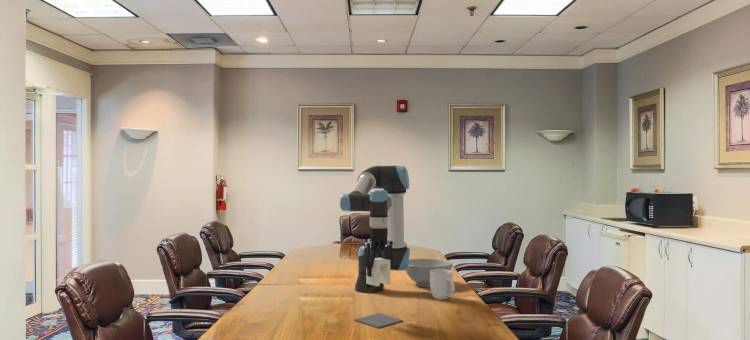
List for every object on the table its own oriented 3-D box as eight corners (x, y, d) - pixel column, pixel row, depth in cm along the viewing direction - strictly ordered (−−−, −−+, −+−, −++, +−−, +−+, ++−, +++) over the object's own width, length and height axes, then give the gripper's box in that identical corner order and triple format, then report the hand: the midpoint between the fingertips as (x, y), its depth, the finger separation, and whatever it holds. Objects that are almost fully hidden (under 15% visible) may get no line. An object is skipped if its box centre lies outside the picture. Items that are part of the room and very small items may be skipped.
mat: (354, 320, 209) (354, 319, 209) (379, 314, 218) (379, 313, 218) (377, 328, 199) (377, 326, 199) (402, 321, 208) (403, 320, 208)
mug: (462, 300, 243) (462, 273, 243) (445, 303, 237) (445, 275, 237) (442, 294, 256) (442, 268, 256) (424, 297, 250) (424, 270, 250)
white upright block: (376, 286, 205) (377, 261, 206) (366, 283, 211) (366, 259, 211) (390, 284, 210) (390, 259, 210) (379, 281, 215) (379, 257, 216)
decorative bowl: (394, 281, 286) (394, 260, 286) (436, 278, 297) (436, 257, 297) (417, 291, 261) (417, 268, 262) (462, 287, 272) (462, 264, 272)
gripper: (365, 229, 202) (364, 287, 201) (402, 226, 214) (402, 282, 214) (353, 227, 208) (353, 284, 207) (391, 225, 220) (390, 279, 219)
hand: (378, 283), depth 210 cm, fingers closed on white upright block, 7 cm apart
